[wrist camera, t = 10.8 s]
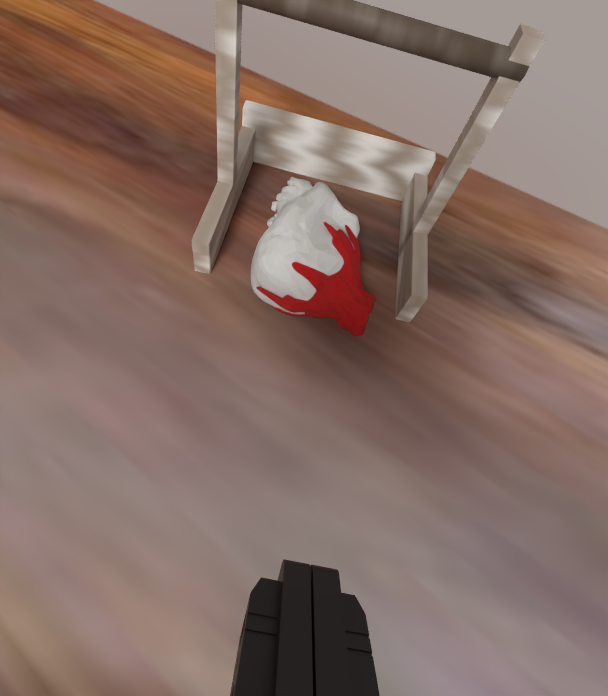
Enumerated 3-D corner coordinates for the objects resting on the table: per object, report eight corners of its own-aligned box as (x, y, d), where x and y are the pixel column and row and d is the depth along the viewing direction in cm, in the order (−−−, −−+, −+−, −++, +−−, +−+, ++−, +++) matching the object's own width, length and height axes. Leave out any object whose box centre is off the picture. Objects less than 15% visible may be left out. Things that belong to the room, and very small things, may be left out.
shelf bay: (413, 196, 49) (522, -23, 31) (409, 322, 39) (568, 108, 21) (243, 151, 47) (255, -106, 29) (194, 270, 37) (167, -9, 19)
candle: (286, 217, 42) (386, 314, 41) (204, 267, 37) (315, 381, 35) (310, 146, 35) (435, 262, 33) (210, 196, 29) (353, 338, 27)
